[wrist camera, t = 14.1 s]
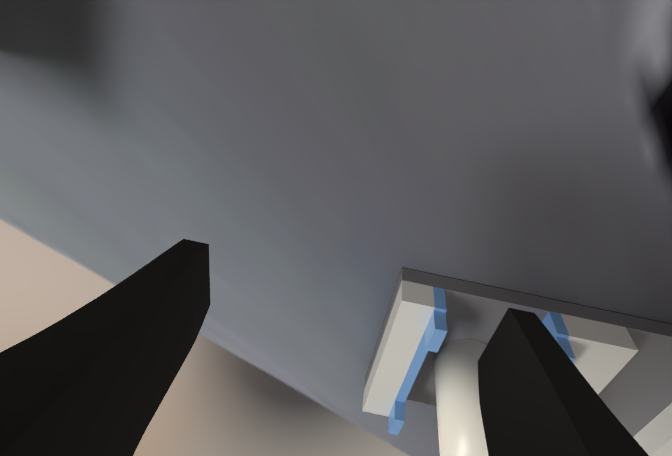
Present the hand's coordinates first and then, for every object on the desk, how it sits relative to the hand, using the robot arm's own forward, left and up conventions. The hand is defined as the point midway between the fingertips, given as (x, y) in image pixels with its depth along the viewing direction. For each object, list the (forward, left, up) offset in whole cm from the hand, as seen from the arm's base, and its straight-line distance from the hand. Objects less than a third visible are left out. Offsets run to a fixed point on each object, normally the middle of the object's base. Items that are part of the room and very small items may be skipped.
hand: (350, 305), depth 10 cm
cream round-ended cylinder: (-8, +12, -9) cm, 17 cm away
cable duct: (-13, +12, -10) cm, 21 cm away
